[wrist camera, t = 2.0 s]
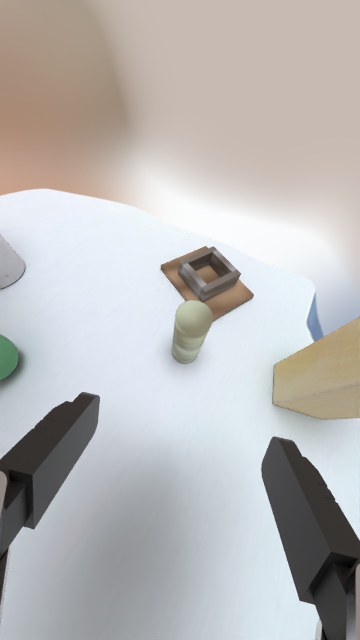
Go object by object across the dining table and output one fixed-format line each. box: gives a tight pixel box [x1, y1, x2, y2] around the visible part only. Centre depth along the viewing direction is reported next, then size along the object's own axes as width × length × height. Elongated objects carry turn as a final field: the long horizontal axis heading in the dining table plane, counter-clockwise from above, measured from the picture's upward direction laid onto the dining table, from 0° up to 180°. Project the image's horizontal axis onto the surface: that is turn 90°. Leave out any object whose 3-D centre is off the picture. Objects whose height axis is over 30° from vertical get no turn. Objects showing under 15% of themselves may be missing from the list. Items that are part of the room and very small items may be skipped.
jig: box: [161, 246, 254, 321], centre depth 38 cm, size 16×12×5 cm
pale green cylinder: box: [172, 300, 213, 364], centre depth 28 cm, size 4×4×12 cm
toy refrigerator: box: [273, 317, 360, 420], centre depth 22 cm, size 8×7×21 cm
